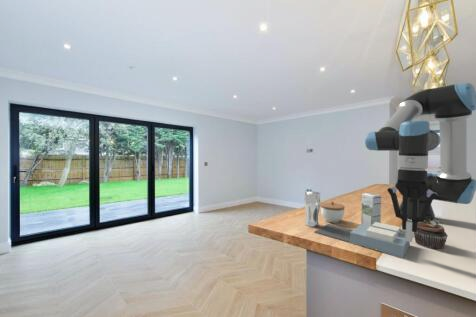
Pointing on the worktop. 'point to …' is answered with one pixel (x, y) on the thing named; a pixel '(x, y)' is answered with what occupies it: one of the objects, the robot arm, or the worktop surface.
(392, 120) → the robot arm
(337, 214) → the lidded jar
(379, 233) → the front tile
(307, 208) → the beer glass
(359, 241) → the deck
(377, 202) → the syrup box
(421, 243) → the cupcake
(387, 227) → the rear tile
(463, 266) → the worktop surface
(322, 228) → the mat
